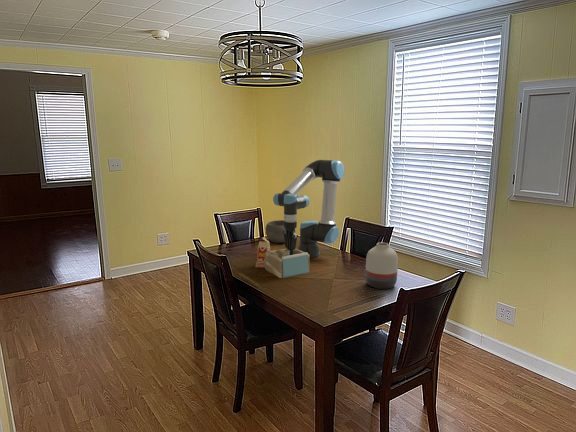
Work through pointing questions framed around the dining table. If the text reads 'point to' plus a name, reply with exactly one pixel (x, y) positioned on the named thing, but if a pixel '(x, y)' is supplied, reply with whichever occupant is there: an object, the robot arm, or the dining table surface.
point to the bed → (278, 260)
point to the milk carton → (262, 252)
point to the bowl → (275, 231)
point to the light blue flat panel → (295, 265)
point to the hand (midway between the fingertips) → (290, 260)
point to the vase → (381, 266)
